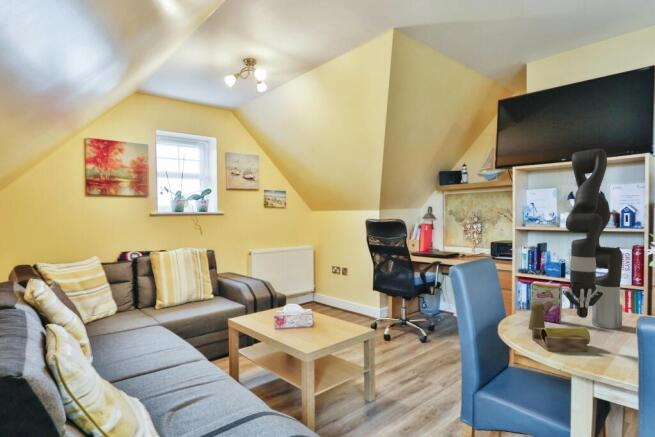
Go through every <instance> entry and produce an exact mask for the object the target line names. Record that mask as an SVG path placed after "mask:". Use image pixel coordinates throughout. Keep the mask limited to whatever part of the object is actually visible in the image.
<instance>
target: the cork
mask: <svg viewBox="0 0 655 437" xmlns="http://www.w3.org/2000/svg"><path fill="white" fill-rule="evenodd" d="M529 304H530V305H529V309H530V316H529V321H528V330H530V331H532V328H546V326H545V321H544V317H543V311H544V305H543V304H542V303H539V302H532V303H531V302H530V303H529Z"/></svg>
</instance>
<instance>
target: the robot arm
mask: <svg viewBox="0 0 655 437" xmlns="http://www.w3.org/2000/svg"><path fill="white" fill-rule="evenodd" d="M607 166H608V157H607V153H606V151H605V149H603V148H594V149H588V150H582V151H576V152H574V153H572V156H571V167H572V170H573V174H574V178H575V181H576V186H577V190H576V192H575V197H574V202H573V203H574V204H573V207H572V209H571V210H570V212H569V213H568V215H567V217H566V219H565V228H566V229H567V231H568V232H570V233H575V234H576V233H577V234H579V233H580V234H585V236H586V238H581V239H580V238H579V239H574V240H572V242H571V246H570V247H571V249H570V250H571V254H570V256H571V257H570V262H569V265H570V267H569V281H570V284H569V285H568V288H567V289H562V295H564V296H565V297H566V298H567V300H568V301H569V303H570V304H571V305H574V306H576V315H577V316H578V317H579V318H582V319H586V318H587V317H588V315H589V313H588V312H589V307H592V308H591V311H592V312H591V314H592V315H591V324H592V325H593V326H596V327H598V328H603V329H609V330H616V329H622V328H623V304H622V303H621V281H622V269H623V258H624V257H623V252H622V250H621V249H620V248H618V247H613V246H611V247H610V246H601V244H600V238H601V234H602V233H603V232H604V230H605V228H606V227H607V226H608V224H609V222H610V220H611V211H610V207H609V206H610V204H609V202H608V199H607V198H605V196H604V195H603V194H601V193H600V191H601V186H602V184H603V180H604V177H605V174H606V171H607ZM587 174H589V175H590V176H589V177H587ZM597 269H605V270H607V273H606V274H603V275H597ZM573 295H574V296H573Z"/></svg>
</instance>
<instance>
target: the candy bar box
mask: <svg viewBox="0 0 655 437" xmlns="http://www.w3.org/2000/svg"><path fill="white" fill-rule="evenodd" d="M530 297H531V302H530V304H531V303H532V302H539V303H542V304H543V305H544V311H543V317H544V322H546V323H547V322H549V323H553V324H560V323H561V322H562V309H563V308H562V306H563V305H562V304H563V303H562V300H563V285H562V284H559V283H550V282H541V281H533V282H532V283H531V296H530Z"/></svg>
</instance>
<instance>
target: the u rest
mask: <svg viewBox="0 0 655 437" xmlns="http://www.w3.org/2000/svg"><path fill="white" fill-rule="evenodd" d="M541 329H542V328H532V330H531V334H532V335H531V338H532V341H534V342H535V343H536V344H537V345H538V346H540V347H541V348H542V349H543V350H546V351H547V352H570V353H571V352H574V353H575V352H576V353H587V352H588V344H587V339H586V338H581V337H545V343H544V342H543V341H542V339H541V335H540V331H541Z"/></svg>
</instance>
